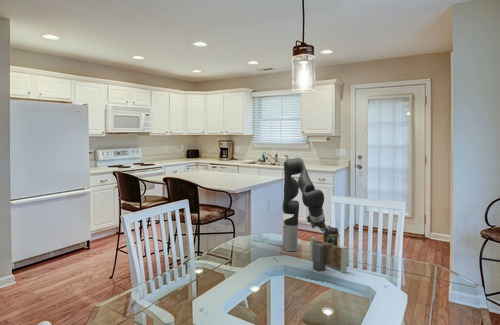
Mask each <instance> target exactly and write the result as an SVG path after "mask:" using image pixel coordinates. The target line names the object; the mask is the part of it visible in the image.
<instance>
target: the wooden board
mask: <svg viewBox="0 0 500 325" xmlns="http://www.w3.org/2000/svg"><path fill="white" fill-rule="evenodd" d="M314 240H317V238H316V236H312V237H310V249H309V251H310V253H309V260H310V261H311V262H313V247H314ZM341 248H342V251H341V270H340V273H341V274H345V273H347V270H348V268H347V265H348V264H347V263H348V247H347V246H341Z"/></svg>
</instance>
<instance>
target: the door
mask: <svg viewBox="0 0 500 325" xmlns="http://www.w3.org/2000/svg"><path fill="white" fill-rule="evenodd" d="M316 243H322V244H325V245H326V266H329V267H331V268H334V269H336V270H339V271H341V251H342V247H339V246H338V245H337V246H338V247H337V246H334V245H331V244H327V243H324V241H321V240H318V239H316V240H314V244H316Z"/></svg>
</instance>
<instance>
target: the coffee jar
mask: <svg viewBox="0 0 500 325" xmlns="http://www.w3.org/2000/svg"><path fill="white" fill-rule="evenodd" d="M330 228H331V233H330V234H329V235H328V236H326V237H325V235H324V232H323V231H322V232H323V233H322V234H323V242H324V243H327V244H331V245H334V246H337V247H339V246H338V237H339V229H338V227H332V226H330ZM325 231H326V230H325Z"/></svg>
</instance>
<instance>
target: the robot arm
mask: <svg viewBox="0 0 500 325" xmlns="http://www.w3.org/2000/svg"><path fill="white" fill-rule="evenodd" d="M283 173H284V176H283V177H284V181H283V182H284V183H283V202H282V211H283V213H284V214H286V215H292V216H291V217H289V218H286V219H284V221H283V222H284V224H283V226H284V227H283V229H284V230H283V235H282V249H283V248H284V249H285V250H288V251H295V252H298V243H299V212H300V203H299V201H298V200H296V199H295V198H296V197H297V196H298V194H299V191H301V200H302V203H303V205H304V206H305V207H307V210H308V213H309V214H308V215H307V217H306V220H307V223H310V225H311V228H312V229H315V228H316V227H317V228H318V229H319V230H320V231H321V232H324V235H325V237H326V236H328V235H329V234H330V233H331V228H330V227H331V226H330V225H328V226H327V224H326V223H325V222H326V217H325V212H324V209H323V206H324V203H325V195H324V192H323V191H322V190H321V189H318V188H317V189H316V188H315V185H314V184H313V181H312V180H311V178H310V176H309V173H308V170H307V168H306V165H305V162H304V161H303V159H302V158H301V157H295V158H289V159H286V160H285V161H284V162H283ZM295 175H299V176H298V178H297V179H298V180H297V179H295V178H294V177H293V176H295ZM294 199H295V200H294ZM325 230H326V231H325ZM284 249H283V250H284ZM285 250H284V251H285ZM288 251H287V252H288Z"/></svg>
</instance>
